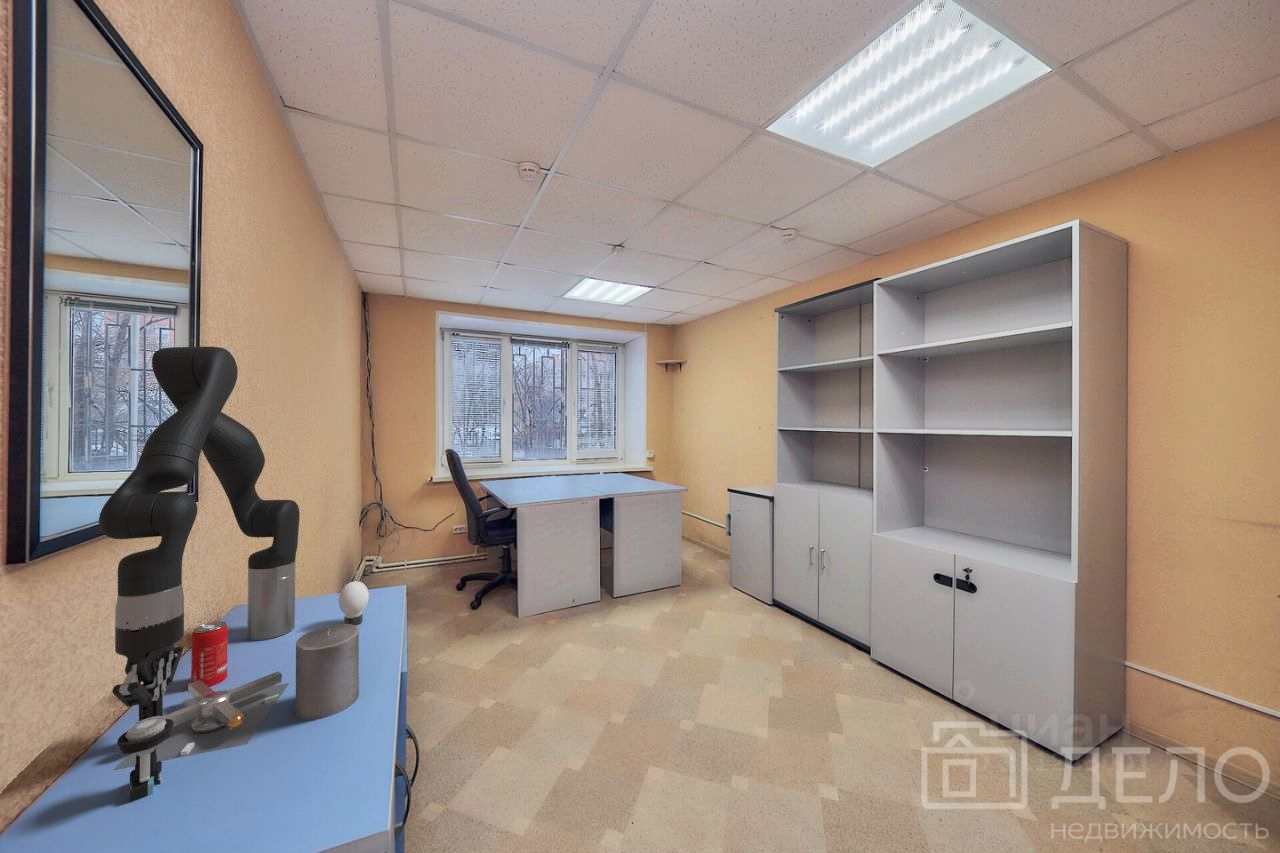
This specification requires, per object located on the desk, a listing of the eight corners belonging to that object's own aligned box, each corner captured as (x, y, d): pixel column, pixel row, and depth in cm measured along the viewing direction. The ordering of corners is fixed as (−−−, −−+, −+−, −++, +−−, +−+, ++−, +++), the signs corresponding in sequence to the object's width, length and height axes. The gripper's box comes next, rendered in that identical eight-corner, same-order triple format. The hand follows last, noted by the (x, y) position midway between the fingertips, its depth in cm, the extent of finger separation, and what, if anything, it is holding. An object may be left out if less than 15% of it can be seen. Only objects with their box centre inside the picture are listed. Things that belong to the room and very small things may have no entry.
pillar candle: (317, 693, 87) (316, 617, 87) (369, 691, 88) (369, 616, 88) (281, 727, 77) (281, 642, 77) (340, 724, 78) (340, 640, 78)
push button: (121, 787, 64) (121, 718, 64) (174, 768, 68) (175, 703, 68) (113, 817, 59) (114, 743, 59) (171, 794, 63) (172, 724, 63)
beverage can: (204, 695, 86) (205, 633, 86) (183, 692, 87) (184, 630, 87) (233, 680, 91) (234, 622, 91) (214, 677, 92) (214, 619, 92)
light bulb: (340, 631, 113) (341, 588, 113) (336, 622, 118) (336, 581, 118) (371, 624, 117) (371, 582, 117) (365, 615, 122) (366, 575, 122)
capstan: (116, 732, 74) (116, 708, 74) (258, 677, 90) (258, 658, 90) (153, 781, 64) (154, 754, 64) (305, 709, 81) (305, 687, 81)
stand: (185, 705, 83) (185, 696, 83) (289, 687, 89) (289, 679, 89) (112, 776, 66) (113, 765, 66) (247, 749, 72) (247, 739, 72)
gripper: (147, 603, 77) (147, 702, 77) (86, 638, 65) (86, 756, 65) (203, 597, 80) (203, 693, 80) (154, 630, 67) (154, 743, 68)
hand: (150, 721), depth 72 cm, fingers closed
